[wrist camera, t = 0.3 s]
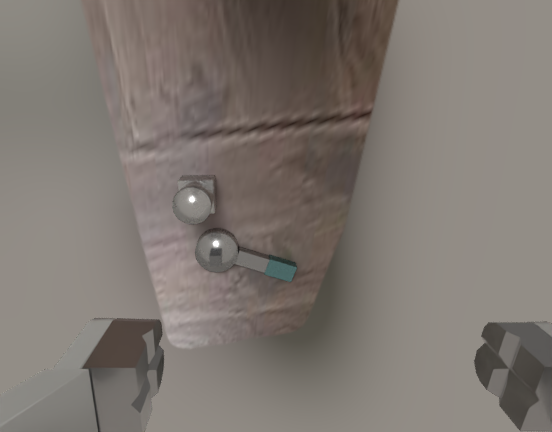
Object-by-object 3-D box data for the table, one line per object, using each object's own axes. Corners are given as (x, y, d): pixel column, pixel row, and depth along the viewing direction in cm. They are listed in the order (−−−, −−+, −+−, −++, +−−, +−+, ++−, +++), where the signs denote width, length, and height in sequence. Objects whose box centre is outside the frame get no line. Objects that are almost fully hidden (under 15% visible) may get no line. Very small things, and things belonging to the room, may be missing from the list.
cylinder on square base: (181, 175, 54) (170, 187, 45) (215, 174, 54) (210, 187, 46) (184, 206, 55) (173, 225, 47) (216, 206, 56) (212, 224, 47)
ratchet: (192, 259, 58) (187, 274, 53) (204, 223, 56) (200, 234, 51) (285, 286, 62) (289, 302, 56) (299, 252, 60) (304, 266, 55)
